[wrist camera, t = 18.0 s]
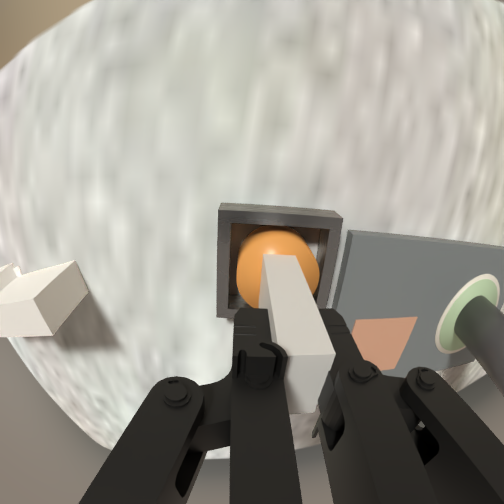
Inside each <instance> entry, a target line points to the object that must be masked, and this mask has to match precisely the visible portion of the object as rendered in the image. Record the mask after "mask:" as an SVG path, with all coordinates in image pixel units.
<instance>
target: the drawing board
mask: <svg viewBox="0 0 504 504" xmlns="http://www.w3.org/2000/svg"><path fill="white" fill-rule="evenodd" d="M480 295H482V296H484V297H486V298H487V299H488V300H489V301H490V302H491V303H492V304H493V305H495V306H496V307H497V308H498V309H499V310H501V307H502V305H503V303H504V247H501V246H494V245H486V244H479V243H471V242H463V241H455V240H446V239H437V238H428V237H419V236H409V235H400V234H389V233H379V232H368V231H356V230H348V233H347V239H346V244H345V249H344V255H343V260H342V264H341V269H340V274H339V279H338V283H337V288H336V292H335V296H334V301H333V305H332V309H335V310H336V311H337V312H338V313H339V314H340V315H342V317H343V318H344V320H345V322H346V324H347V327H348V328H349V330H350V334H352V336H353V339H354V341H355V343H356V345H357V347H358V349H359V351H360V353H361V355H362V357H363V359H364V360H367V361H370V362H371V363H373V364H374V365H376V366H377V367H378V368H379V370H380V371H381V373H382V375H387V376H394V377H402V378H405V377H406V376H407V374H408V372H409V371H410V370H411V369H413V368H415V367H427V368H429V369H432V370H434V371H439V370H443V369H447V368H451V367H455V366H459V365H462V364H466V363H469V362H473V361H474V360H475V357H474V356H473V355H472V353H471V352H470V351H469V350H468V348H467V347H466V346H465V345H464V344H463V342H462V341H461V340H460V339H459V338H458V336H457V335H456V334H455V332H454V326H455V322H456V319H457V317H458V315H459V313H460V312H461V310H462V309H463V308H464V306H465V305H466V304H467V303H468V302H469V301H470V300H472V299H473V298H474V297H476V296H480Z"/></svg>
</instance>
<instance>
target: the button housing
mask: <svg viewBox="0 0 504 504" xmlns="http://www.w3.org/2000/svg"><path fill="white" fill-rule="evenodd" d="M342 222H343V218H342V217H341V216H340V215H339V214H337V213H336V212H335V211H331V210H320V209H309V208H297V207H284V206H269V205H253V204H235V203H221V204H220V207H219V209H218V240H217V317H219V318H234V315H235V314H236V313H237V311H238V310H239V309H240V308H253V307H251V306H250V305H249V304H248V303H247V302H246V301H245V300H244V299H243V298H242V296H241V295H229V280H230V253H231V229H232V223H244V224H262V225H278V226H294V227H308V228H321V232H320V239H319V245H318V251H317V258H316V261H317V264H318V267H319V282H318V286H317V288H316V290H315V292H314V294H313V295H312V296H313V298H314V301H315V303H316V306H317V308H318V309H325V308H326V304H327V300H328V295H329V291H330V286H331V281H332V277H333V272H334V267H335V262H336V257H337V251H338V246H339V240H340V234H341V229H342Z"/></svg>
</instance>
